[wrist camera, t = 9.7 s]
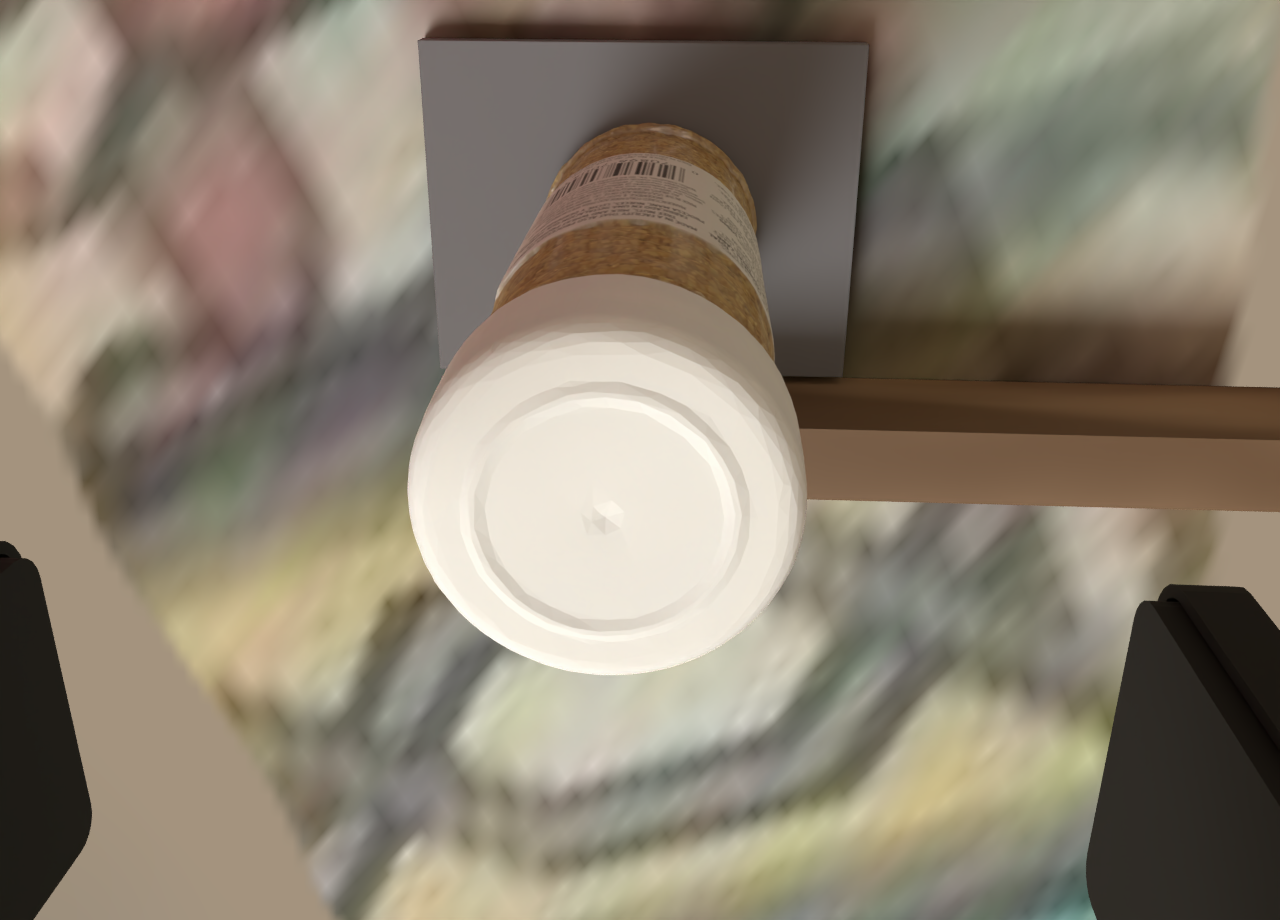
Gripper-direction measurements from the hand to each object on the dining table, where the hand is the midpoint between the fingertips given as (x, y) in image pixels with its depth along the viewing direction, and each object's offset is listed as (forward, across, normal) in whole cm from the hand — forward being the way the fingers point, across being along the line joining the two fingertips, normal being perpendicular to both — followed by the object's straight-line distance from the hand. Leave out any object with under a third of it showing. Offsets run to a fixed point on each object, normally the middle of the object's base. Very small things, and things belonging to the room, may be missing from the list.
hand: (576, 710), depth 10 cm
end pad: (+17, +1, -1) cm, 17 cm away
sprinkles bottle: (+17, 0, 0) cm, 17 cm away
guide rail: (+17, -6, +4) cm, 19 cm away
